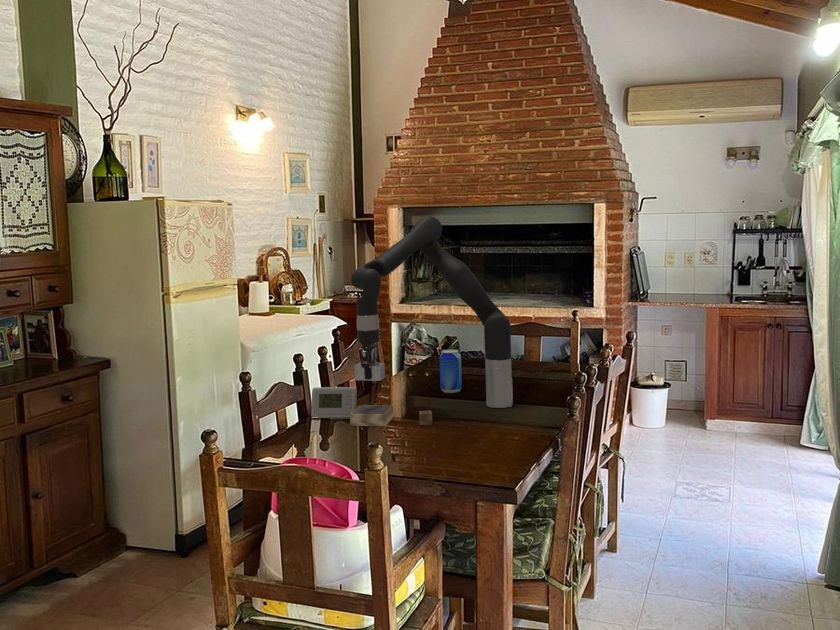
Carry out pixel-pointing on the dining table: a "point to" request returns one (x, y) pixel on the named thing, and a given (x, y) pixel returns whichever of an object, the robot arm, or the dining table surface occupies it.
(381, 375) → the housing
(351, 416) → the stand
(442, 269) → the robot arm
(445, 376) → the beer can
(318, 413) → the digital clock
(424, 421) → the walnut block
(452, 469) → the dining table surface
